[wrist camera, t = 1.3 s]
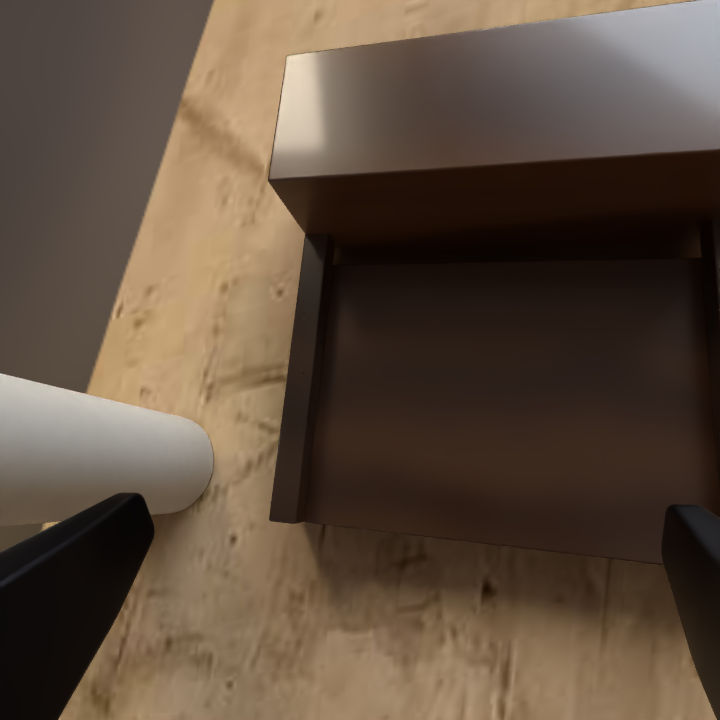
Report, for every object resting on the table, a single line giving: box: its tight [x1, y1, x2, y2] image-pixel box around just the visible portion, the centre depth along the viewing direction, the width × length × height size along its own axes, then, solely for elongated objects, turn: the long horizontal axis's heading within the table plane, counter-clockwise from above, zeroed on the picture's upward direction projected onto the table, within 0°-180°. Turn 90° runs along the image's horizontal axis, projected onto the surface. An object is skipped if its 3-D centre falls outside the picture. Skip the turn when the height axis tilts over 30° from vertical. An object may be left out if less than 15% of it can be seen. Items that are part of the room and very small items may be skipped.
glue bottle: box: [0, 374, 214, 526], centre depth 19 cm, size 5×5×14 cm
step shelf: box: [268, 0, 720, 565], centre depth 20 cm, size 19×18×8 cm
